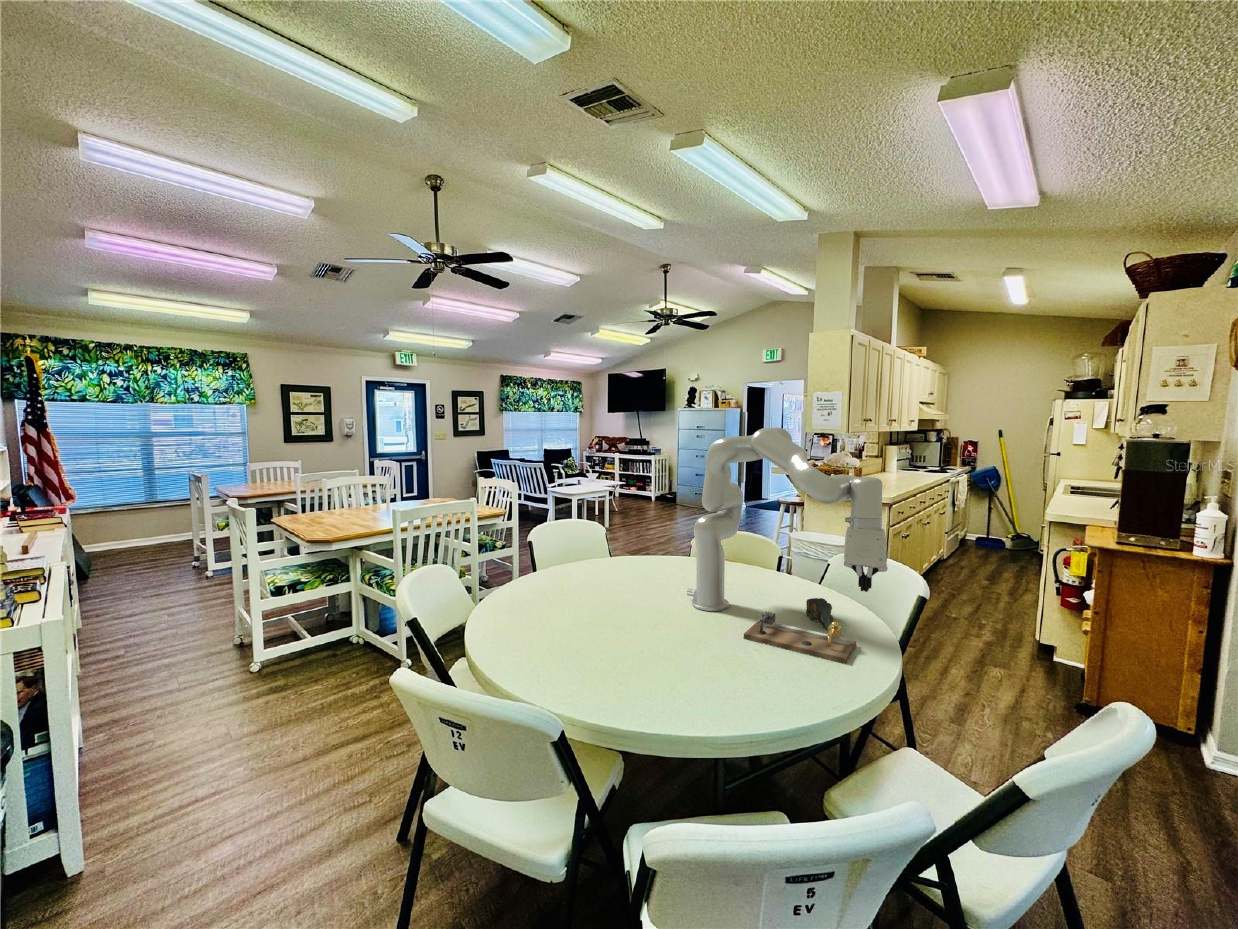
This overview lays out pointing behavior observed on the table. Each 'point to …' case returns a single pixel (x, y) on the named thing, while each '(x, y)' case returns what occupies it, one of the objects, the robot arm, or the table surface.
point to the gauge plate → (799, 639)
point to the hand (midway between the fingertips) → (864, 590)
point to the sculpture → (820, 611)
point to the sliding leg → (834, 632)
